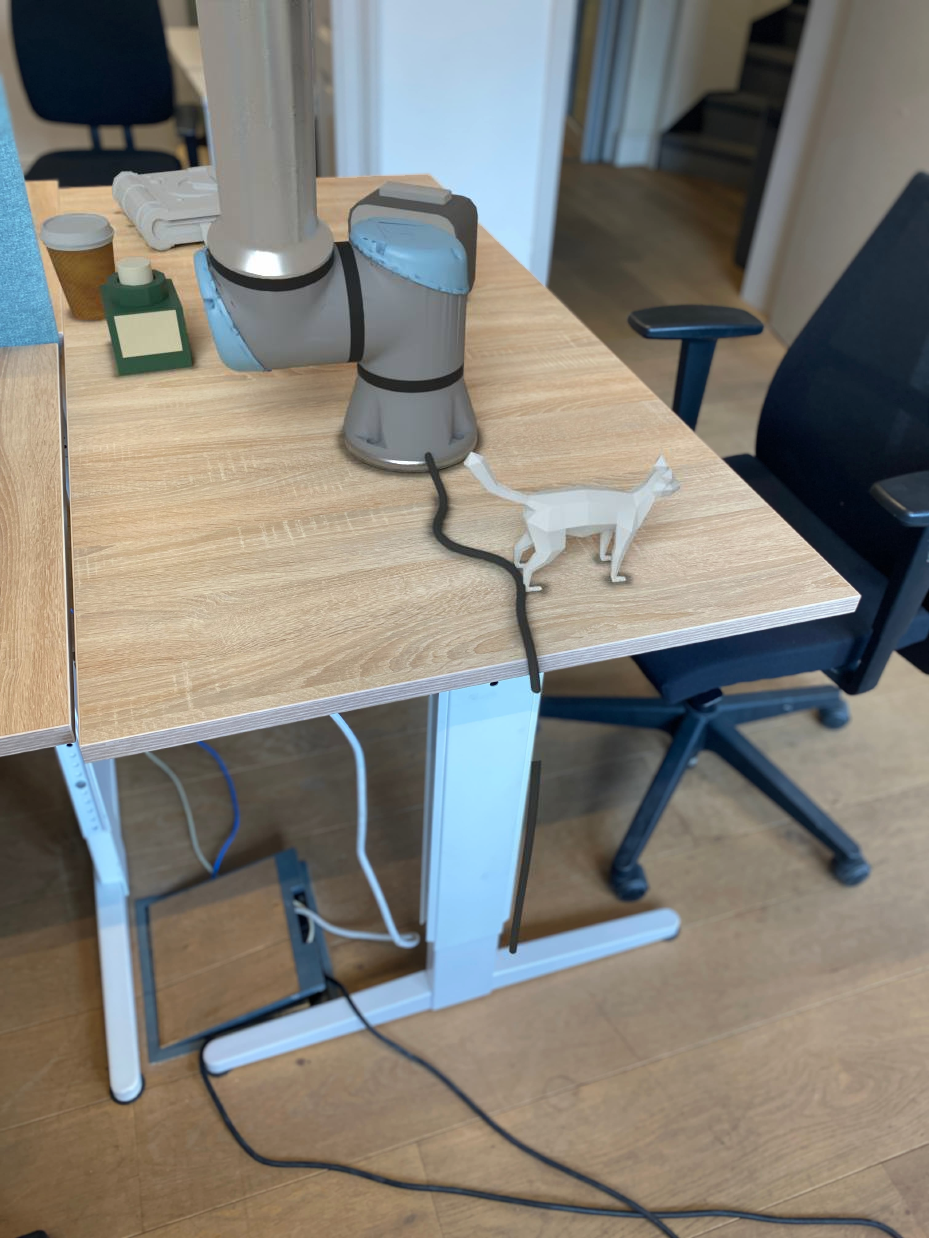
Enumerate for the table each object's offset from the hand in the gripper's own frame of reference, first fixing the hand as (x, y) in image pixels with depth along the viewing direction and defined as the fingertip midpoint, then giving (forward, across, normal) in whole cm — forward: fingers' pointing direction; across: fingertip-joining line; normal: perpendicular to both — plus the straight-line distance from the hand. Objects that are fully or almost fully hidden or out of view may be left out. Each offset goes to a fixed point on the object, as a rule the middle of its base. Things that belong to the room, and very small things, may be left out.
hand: (224, 71), depth 108 cm
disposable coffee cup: (+31, +8, +21) cm, 38 cm away
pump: (+21, -8, +15) cm, 27 cm away
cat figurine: (+31, -68, -15) cm, 76 cm away
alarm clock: (+31, +1, -25) cm, 39 cm away
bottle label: (+28, -13, +15) cm, 34 cm away
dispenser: (+30, -8, +15) cm, 35 cm away
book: (+31, +40, +3) cm, 51 cm away
